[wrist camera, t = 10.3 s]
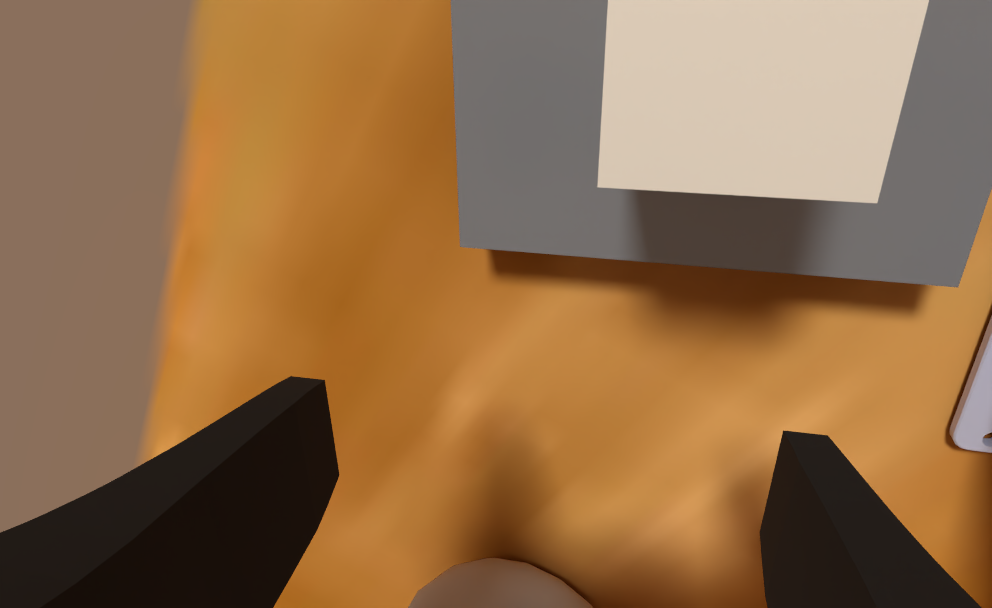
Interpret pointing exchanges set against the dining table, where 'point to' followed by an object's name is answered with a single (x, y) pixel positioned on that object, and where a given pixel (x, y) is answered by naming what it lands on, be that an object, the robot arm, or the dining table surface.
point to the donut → (497, 587)
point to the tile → (697, 216)
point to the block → (755, 95)
